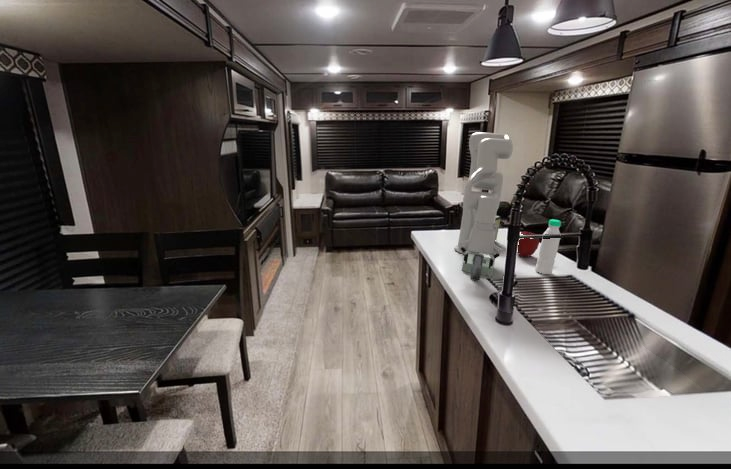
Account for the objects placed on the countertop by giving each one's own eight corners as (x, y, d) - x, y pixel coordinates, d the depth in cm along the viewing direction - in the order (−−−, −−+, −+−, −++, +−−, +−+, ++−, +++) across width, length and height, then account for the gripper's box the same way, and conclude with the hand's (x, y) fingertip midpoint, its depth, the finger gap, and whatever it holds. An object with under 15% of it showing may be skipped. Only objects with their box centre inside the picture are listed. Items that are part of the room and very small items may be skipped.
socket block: (465, 261, 164) (466, 253, 163) (493, 266, 160) (495, 258, 159) (461, 270, 153) (462, 262, 152) (491, 276, 148) (493, 268, 147)
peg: (470, 276, 147) (474, 252, 144) (480, 278, 146) (484, 254, 143) (469, 279, 144) (473, 255, 141) (479, 281, 142) (483, 257, 139)
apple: (508, 250, 184) (513, 227, 180) (530, 252, 183) (536, 229, 179) (515, 258, 172) (521, 233, 168) (539, 260, 171) (545, 235, 167)
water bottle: (542, 268, 161) (554, 217, 154) (555, 274, 155) (568, 222, 148) (531, 269, 159) (543, 218, 151) (543, 276, 152) (556, 222, 145)
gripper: (507, 227, 138) (499, 266, 143) (463, 220, 144) (458, 258, 149) (506, 231, 131) (498, 272, 136) (461, 224, 137) (455, 263, 142)
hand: (477, 265), depth 142 cm, fingers open, 9 cm apart
